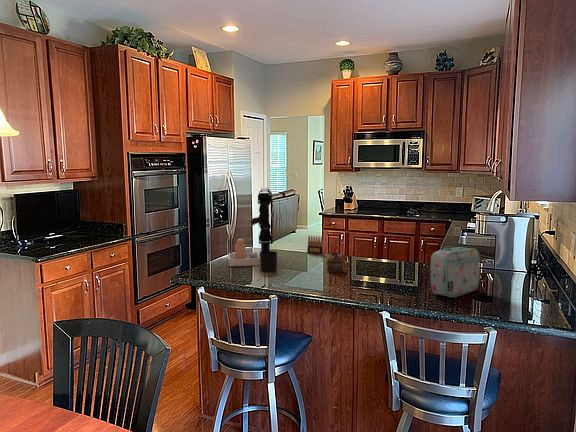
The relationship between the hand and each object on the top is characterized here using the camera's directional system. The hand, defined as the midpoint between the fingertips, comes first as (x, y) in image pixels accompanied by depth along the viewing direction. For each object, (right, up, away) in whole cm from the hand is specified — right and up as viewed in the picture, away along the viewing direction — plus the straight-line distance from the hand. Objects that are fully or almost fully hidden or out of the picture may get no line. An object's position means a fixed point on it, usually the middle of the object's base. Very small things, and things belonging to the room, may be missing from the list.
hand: (264, 238), depth 267 cm
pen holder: (+4, -17, -28) cm, 33 cm away
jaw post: (-14, -13, -9) cm, 21 cm away
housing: (-12, -14, -8) cm, 20 cm away
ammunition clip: (+32, -11, +18) cm, 38 cm away
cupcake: (+40, -17, -28) cm, 52 cm away
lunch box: (+90, -22, -70) cm, 116 cm away
